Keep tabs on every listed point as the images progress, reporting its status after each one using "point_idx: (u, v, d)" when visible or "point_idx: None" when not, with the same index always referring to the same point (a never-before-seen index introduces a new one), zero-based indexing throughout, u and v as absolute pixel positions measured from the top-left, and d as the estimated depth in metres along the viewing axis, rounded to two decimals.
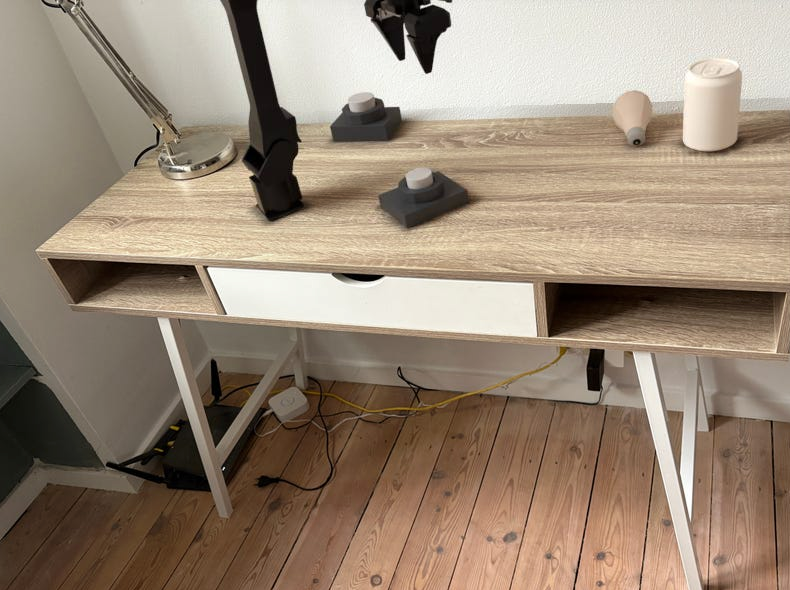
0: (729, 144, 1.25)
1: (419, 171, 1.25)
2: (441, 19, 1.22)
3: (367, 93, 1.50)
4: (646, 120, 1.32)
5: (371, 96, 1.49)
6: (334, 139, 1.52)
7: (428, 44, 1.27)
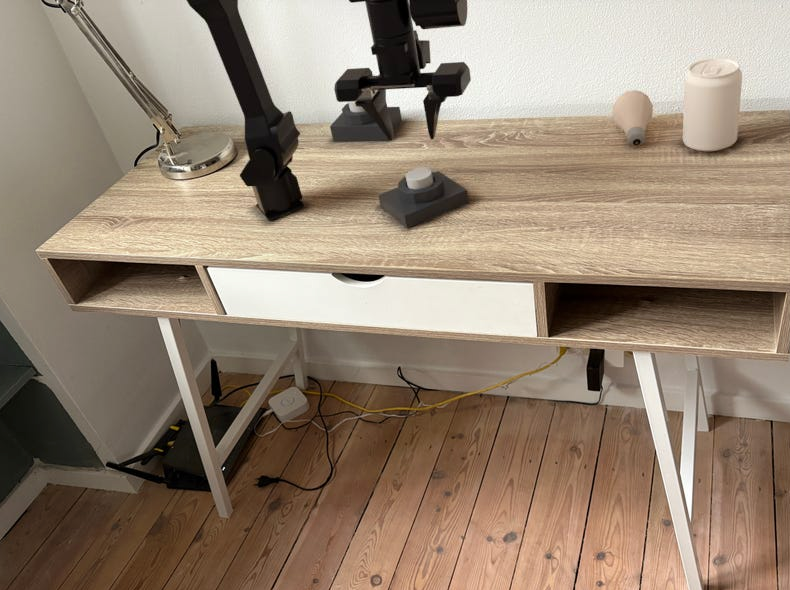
0: (729, 144, 1.25)
1: (419, 171, 1.25)
2: (467, 72, 1.13)
3: None
4: (646, 120, 1.32)
5: None
6: (334, 139, 1.52)
7: None
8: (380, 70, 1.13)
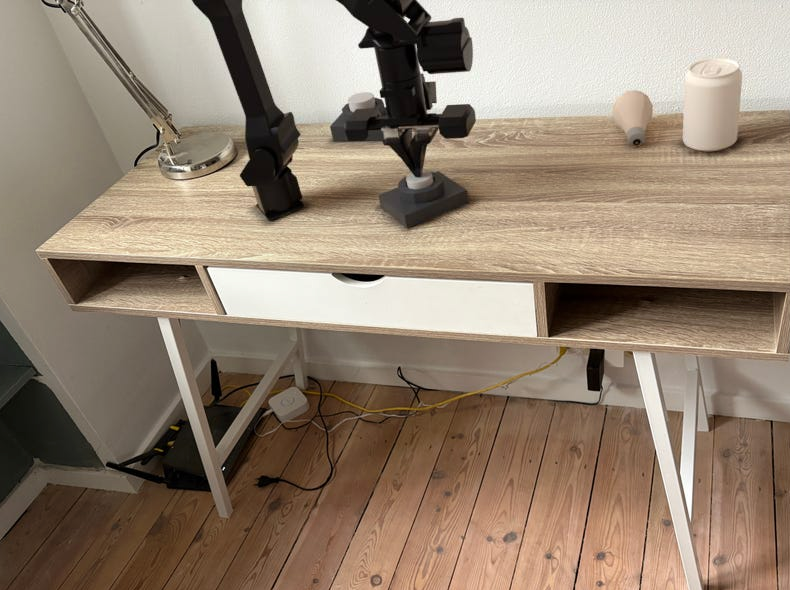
0: (729, 144, 1.25)
1: None
2: (472, 114, 1.17)
3: (367, 93, 1.50)
4: (646, 120, 1.32)
5: (371, 96, 1.49)
6: (334, 139, 1.52)
7: (422, 146, 1.21)
8: (388, 112, 1.17)
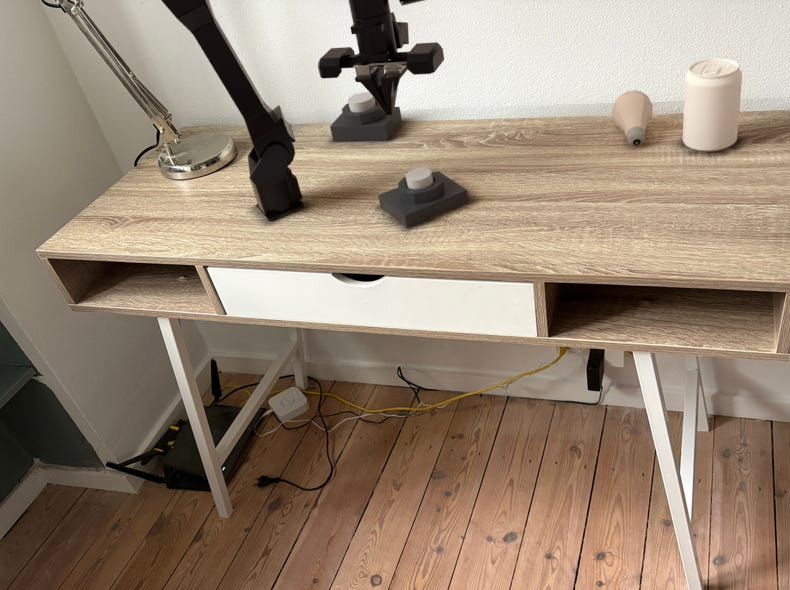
0: (729, 144, 1.25)
1: (419, 171, 1.25)
2: (440, 52, 1.22)
3: (367, 93, 1.50)
4: (646, 120, 1.32)
5: (371, 96, 1.49)
6: (334, 139, 1.52)
7: (393, 84, 1.26)
8: (359, 49, 1.22)
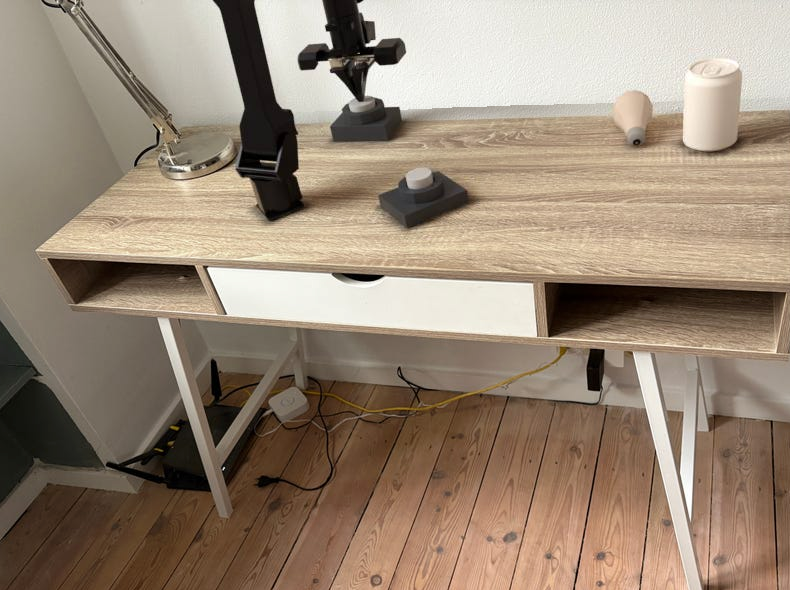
0: (729, 144, 1.25)
1: (419, 171, 1.25)
2: (402, 46, 1.42)
3: (368, 97, 1.51)
4: (646, 120, 1.32)
5: (372, 100, 1.49)
6: (334, 139, 1.52)
7: (363, 74, 1.46)
8: (333, 44, 1.42)
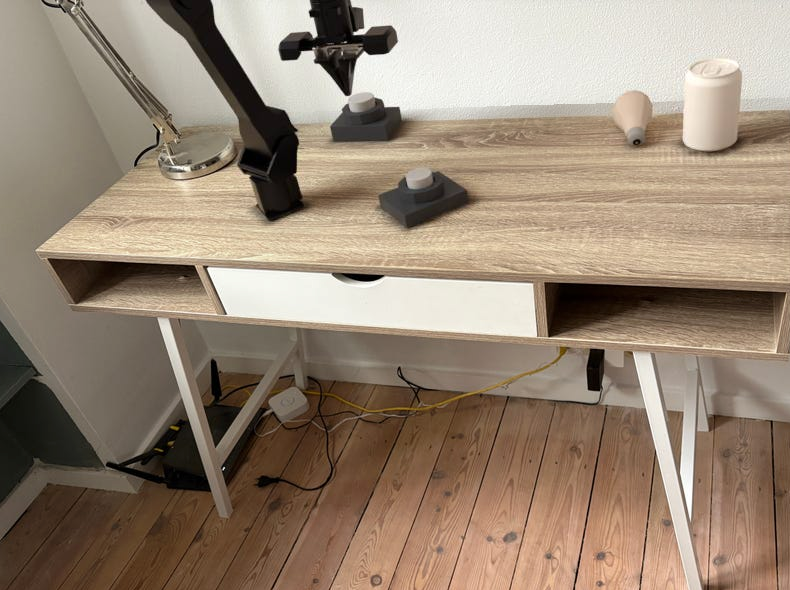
0: (729, 144, 1.25)
1: (419, 171, 1.25)
2: (394, 34, 1.30)
3: (367, 93, 1.50)
4: (646, 120, 1.32)
5: (371, 96, 1.49)
6: (334, 139, 1.52)
7: (350, 66, 1.34)
8: (317, 32, 1.29)
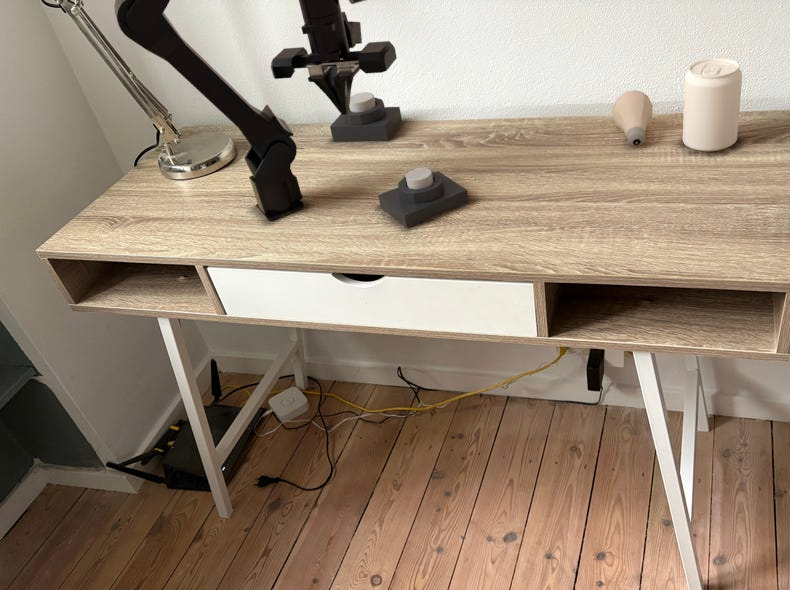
0: (729, 144, 1.25)
1: (419, 171, 1.25)
2: (392, 50, 1.22)
3: (367, 93, 1.50)
4: (646, 120, 1.32)
5: (371, 96, 1.49)
6: (334, 139, 1.52)
7: (347, 83, 1.27)
8: (311, 48, 1.22)
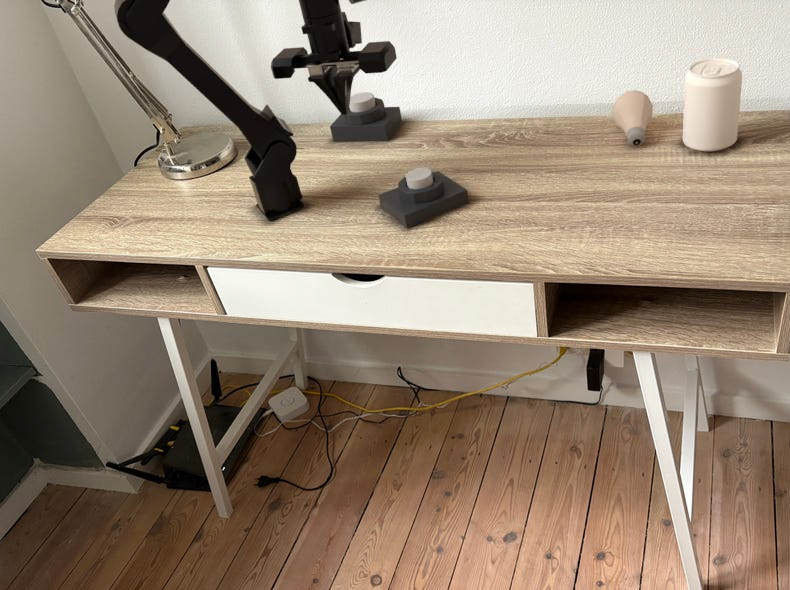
0: (729, 144, 1.25)
1: (419, 171, 1.25)
2: (392, 50, 1.22)
3: (367, 93, 1.50)
4: (646, 120, 1.32)
5: (371, 96, 1.49)
6: (334, 139, 1.52)
7: (347, 83, 1.27)
8: (311, 48, 1.22)
